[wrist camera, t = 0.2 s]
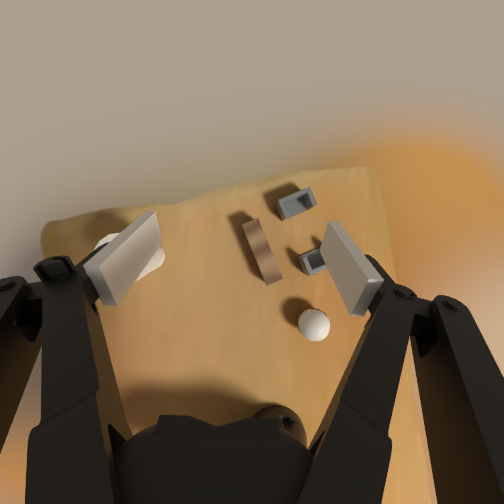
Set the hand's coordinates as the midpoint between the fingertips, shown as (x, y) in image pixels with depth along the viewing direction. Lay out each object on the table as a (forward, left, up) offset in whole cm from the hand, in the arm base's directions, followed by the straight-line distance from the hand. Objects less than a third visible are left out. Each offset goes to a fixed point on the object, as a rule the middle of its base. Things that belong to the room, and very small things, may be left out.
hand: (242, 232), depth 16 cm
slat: (-4, -4, -35) cm, 35 cm away
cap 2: (-11, -16, -35) cm, 39 cm away
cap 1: (+4, -16, -35) cm, 38 cm away
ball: (-23, -8, -35) cm, 42 cm away
